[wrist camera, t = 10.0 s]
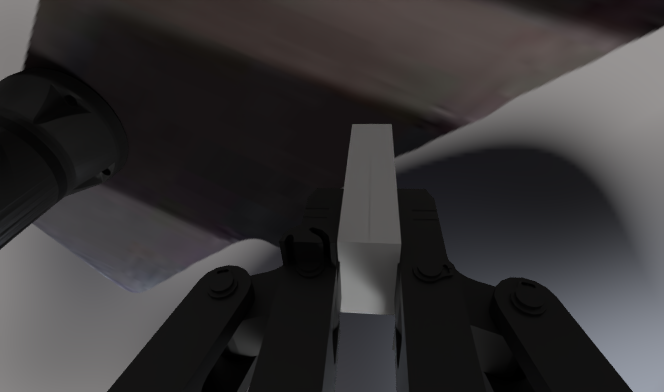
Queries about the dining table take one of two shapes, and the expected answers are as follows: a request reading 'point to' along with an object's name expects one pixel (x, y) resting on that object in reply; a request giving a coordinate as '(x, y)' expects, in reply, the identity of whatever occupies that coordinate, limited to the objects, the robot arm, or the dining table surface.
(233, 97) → the dining table surface
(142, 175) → the dining table surface
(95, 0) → the dining table surface
